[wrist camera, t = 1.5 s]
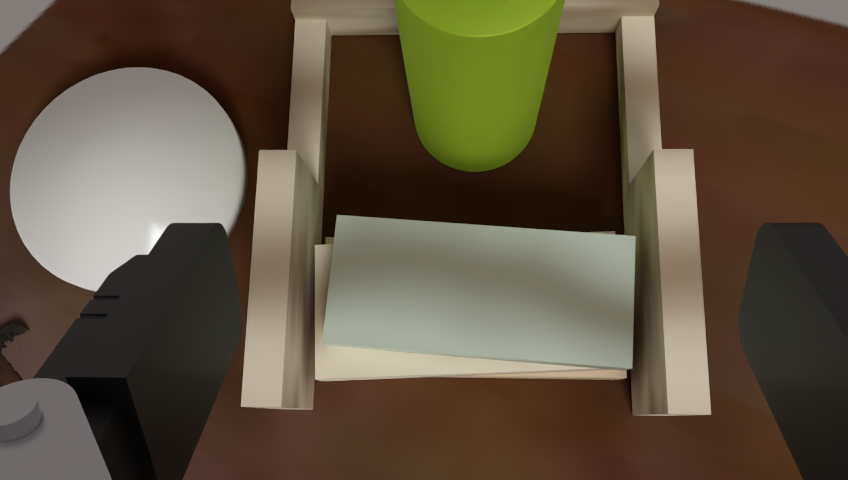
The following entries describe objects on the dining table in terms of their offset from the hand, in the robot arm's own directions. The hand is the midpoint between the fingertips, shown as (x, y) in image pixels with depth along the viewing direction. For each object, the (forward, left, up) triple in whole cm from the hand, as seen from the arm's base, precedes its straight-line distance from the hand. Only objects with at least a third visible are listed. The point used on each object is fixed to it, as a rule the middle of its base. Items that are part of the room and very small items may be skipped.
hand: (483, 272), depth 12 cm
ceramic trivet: (-10, +16, -23) cm, 29 cm away
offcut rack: (+4, +8, -23) cm, 24 cm away
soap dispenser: (+6, +10, -23) cm, 26 cm away
